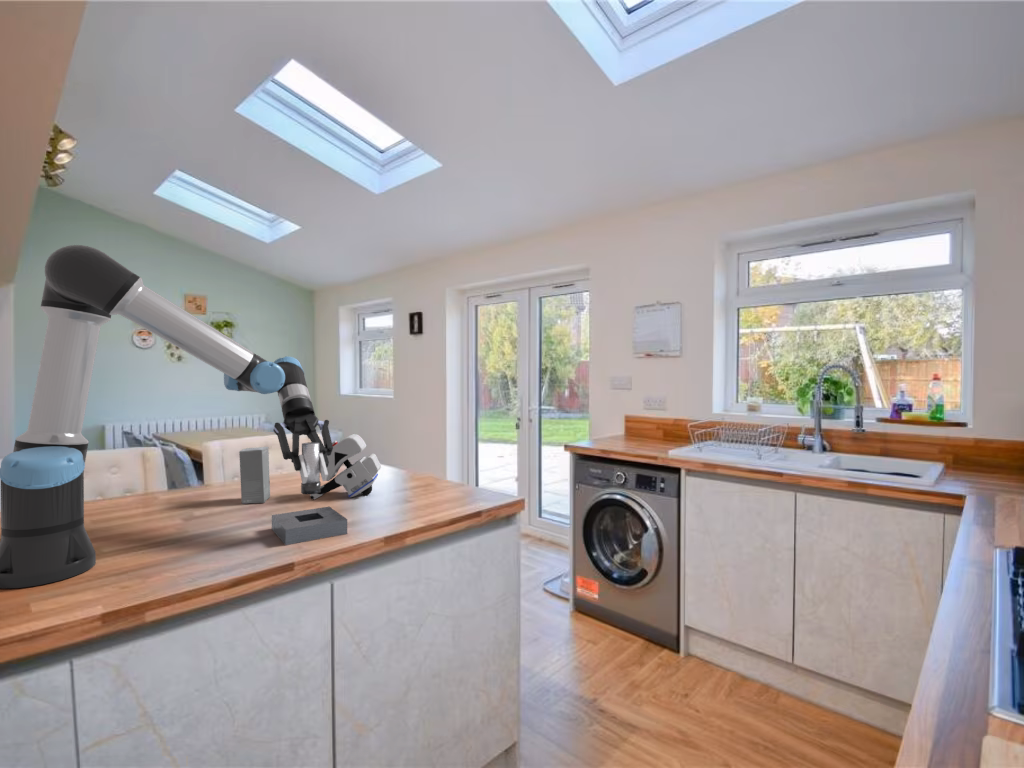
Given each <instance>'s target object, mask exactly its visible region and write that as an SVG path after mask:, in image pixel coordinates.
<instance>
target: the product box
mask: <svg viewBox="0 0 1024 768" xmlns="http://www.w3.org/2000/svg"><path fill="white" fill-rule="evenodd" d="M269 451H270V450H269V446H261V447H260V446H259V447H247V448H243V449H241V450H239V452H238V453H239V456H238V457H239V473H240V494H241V496H240V498H241V504H264V503H265V502H267V500H268V499H270V498H271V485H270V484H271V483H270V482H271V480H270V479H271V478H270V457H269V456H270V455H269V454H270V452H269Z"/></svg>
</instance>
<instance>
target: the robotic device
mask: <svg viewBox="0 0 1024 768" xmlns="http://www.w3.org/2000/svg"><path fill="white" fill-rule="evenodd" d="M332 446H333V450H332V453H331V455H329V456H328V455H327V457H328V461H329V464H328V467H327V471H328V476H327V479H326V481H325V482H326V483H325V484H323V485H321V492H320V493H317V494H309V499H311V500H312V499H314V500H316V499H318V498H320V497H321V496H324V494H327V493H329V492H331V491H334V490H336V489H338V488H340V487H343V488H344V489H345V490H346V492H347V497H348V498H352V497H356V496H358V495H360V494H361V495H364V496H367V495H370V494H371V493H372V491H373V484H374V482H375V480H376V479H378V478H377V477H378V475H379V474H378V472H379V471H380V470H381V468H382V464H381V463H380V460H379V459H378V456H377V455H376V454H375V453H371V454H370V455H368V456H362V457H361V458H360V459H358V460H357V461H356V462H354V463H351V461H350V460H349V459H350V458H351V457H354V456H356V455H357V454H360V453H361V452H363V451H364V450H365V449H366V448H367V444H366V441H365V440H364V439H363V437H361V436H360V435H359V434H356V433H353V434H350V435H348V436H346V437H344V439H342V440H340V441H339V442H338V441H337V440H334V441H333V442H332ZM343 465H344V466H345V467H346V468H344V470H342V471H340V472H339V470H340V468H341V467H342V466H343ZM338 472H339V473H338Z"/></svg>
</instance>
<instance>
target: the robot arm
mask: <svg viewBox="0 0 1024 768" xmlns="http://www.w3.org/2000/svg"><path fill="white" fill-rule="evenodd" d="M44 277H45V282H44V286H43V291H42V298H41V301H40V302H41V303H40V309H41V310H42V312H43V313H44V314H45V315H46V316H47V318H48V320H47V325H46V329H45V335H44V339H43V340H44V341H43V345H42V346H43V347H42V351H41V356H40V361H39V368H38V372H37V377H36V382H35V388H34V394H33V399H32V404H31V410H30V415H29V420H28V426H27V429H26V431H25V432H22V434H20V435H18V436H16V437H15V441H14V446H13V451H12V452H10V453H9V454H7V455H5V456H4V457H3V458H2V460H1V462H0V529H1V530H0V531H1V532H0V589H19V588H22V589H23V588H30V587H35V586H42V585H45V584H46V585H47V584H51V583H54V582H59V581H62V580H66V579H69V578H73V577H75V576H77V575H80V574H82V573H85V572H87V571H89V570H91V569H92V568H93V567H94V566H95V565H96V561H97V560H96V558H97V556H96V554H97V553H96V550H95V548H94V546H93V543H92V541H91V538H90V536H89V535H88V532H87V530H86V528H85V490H84V489H85V488H84V487H85V482H84V481H85V479H84V478H85V477H84V472H85V468H86V460H87V453H88V449H89V448H88V447H89V440H88V439H87V438H86V437H85V436H84V435H83V434H82V431H83V426H84V420H85V413H86V409H87V404H88V398H89V393H90V392H89V391H90V386H91V381H92V376H93V369H94V366H95V365H94V363H95V359H96V354H97V348H98V344H99V343H98V341H99V337H100V330H101V327H102V326H103V325H104V324H106V323H108V322H110V321H112V320H111V319H112V316H113V315H120V316H122V317H124V318H125V319H128V320H129V321H130V322H132V323H134V324H135V325H137V326H140V327H141V328H143V329H145V330H147V331H148V332H150V333H152V334H153V335H155V336H157V337H159V338H160V339H163V340H165V342H168V343H170V344H171V345H173V346H175V347H176V348H178V349H180V350H182V351H184V352H186V353H187V354H189V355H191V356H193V357H194V358H196V359H198V360H200V361H202V362H204V363H205V364H207V365H209V366H211V367H212V368H214V369H215V370H217V371H219V372H221V373H222V374H223V385H224V387H225V389H226V390H228V391H236V392H251V393H253V392H254V393H259V394H262V395H269V394H273V393H277V396H278V399H279V404H280V407H281V412H282V417H283V422H281V423H280V422H275V423H274V427H273V432H274V434H275V435H276V437H277V438H278V439H277V440H278V442H279V447H280V450H281V454H282V457H283V460H286V461H288V460H290V461H291V463H293V468H294V471H297V472H299V475H300V478H301V483H302V484H305V483H306V481H307V478H308V475H307V471H306V467H305V463H304V458H303V455H302V454H300V436H303V435H304V436H306V437H307V438H308V439H309V441H310V442H318V443H319V454H320V477H321V481H322V482H327V481H326V479H327V476H328V471H327V467H328V464H329V461H328V457H327V455H328V456H329V455H331V453H332V450H333V446H332V443H333V442H332V437H331V434H330V428H329V425H330V420H328V419H325V420H319V418H318V417H317V416H316V413H315V409H314V405H313V402H312V398H311V395H310V392H309V388H308V386H307V381H306V377H305V371H304V369H303V367H302V365H301V363H300V361H299V360H298V359H297V358H295V357H294V356H289V355H288V356H284V357H279V358H277V359H275V361H268V360H266V359H265V358H263V357H261V356H259V354H258V355H257V354H256V353H254V352H253V351H251V350H250V349H248V348H247V347H245V346H243V345H242V344H240V343H238V342H236V340H233V339H232V338H230V337H229V336H227V335H225V334H224V333H222V332H221V331H219V330H218V329H216V328H214V327H213V326H211V325H209V324H208V323H206V322H204V321H203V320H201V319H200V318H197V317H196V316H194V315H193V314H191V313H190V312H188V311H187V310H185V309H183V308H181V307H180V306H178V305H177V304H175V303H173V302H172V301H170V300H169V299H167V298H166V297H163V296H162V295H160V294H158V292H155V291H154V290H152V289H150V288H149V287H147V286H146V285H144V281H143V278H142V277H141V276H139V275H137V274H135V273H134V272H133V271H131V270H129V269H128V268H127V267H126V266H124V265H122V264H121V263H119V262H118V261H117V260H115V259H114V258H112V257H111V256H110V255H108V254H107V253H105V252H103V251H101V250H99V249H97V248H95V247H92V246H89V245H82V244H71V245H70V244H69V245H66V246H62V247H60V248H58V249H56V250H55V251H53V252H52V253H51V254H50V255H49V257H48V258H47V259H46V262H45V265H44ZM317 426H318V428H319V430H320V431H321V436H322V437H321V438H322V440H321V438H320V436H319V435H318V432H317V429H316V428H317ZM285 429H286V430H287V431H289V432H291V434H292V437H291V439H292V443H291V444H292V446H291V448H292V449H290V446H289V442H288V438H287V434H286V431H285Z"/></svg>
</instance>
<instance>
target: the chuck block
mask: <svg viewBox="0 0 1024 768" xmlns="http://www.w3.org/2000/svg"><path fill="white" fill-rule="evenodd" d="M271 530H272V531H273V532H274V533H275V535H276V536H277V537H278V538H279V539H280V540H281V542H282V543H283V544H284V546H288V545H293V544H299V543H300V544H301V543H304V542H310V541H316V540H320V538H322V539H327V538H331V536H332V537H337V536H342V535H348V519H347V518H346V517H345V516H343V515H342V514H341V513H339V512H337V510H335V509H333V508H332V507H330V506H324V507H315V508H310V509H303V510H298V511H290V512H284V513H278V514H277V513H275V514H271ZM326 537H327V538H326ZM315 539H316V540H315Z"/></svg>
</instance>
